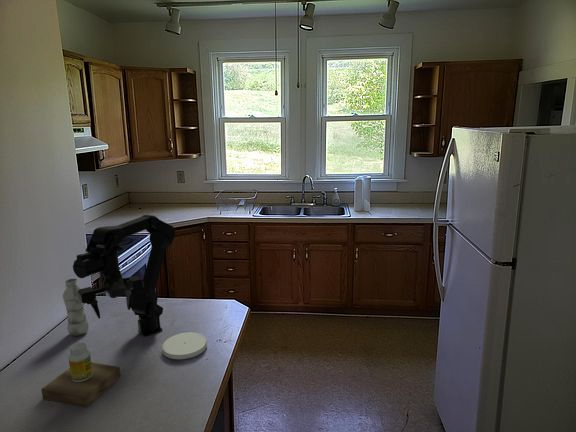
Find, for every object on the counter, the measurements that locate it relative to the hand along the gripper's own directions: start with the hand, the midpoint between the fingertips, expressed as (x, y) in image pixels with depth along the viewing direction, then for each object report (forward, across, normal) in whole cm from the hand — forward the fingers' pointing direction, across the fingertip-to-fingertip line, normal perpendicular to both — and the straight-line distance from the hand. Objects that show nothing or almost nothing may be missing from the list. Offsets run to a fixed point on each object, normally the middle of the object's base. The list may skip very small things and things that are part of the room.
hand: (114, 313), depth 132 cm
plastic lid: (+14, +17, -14) cm, 26 cm away
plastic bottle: (+13, -7, +21) cm, 26 cm away
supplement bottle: (+10, -14, -13) cm, 21 cm away
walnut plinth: (+13, -14, -13) cm, 23 cm away
